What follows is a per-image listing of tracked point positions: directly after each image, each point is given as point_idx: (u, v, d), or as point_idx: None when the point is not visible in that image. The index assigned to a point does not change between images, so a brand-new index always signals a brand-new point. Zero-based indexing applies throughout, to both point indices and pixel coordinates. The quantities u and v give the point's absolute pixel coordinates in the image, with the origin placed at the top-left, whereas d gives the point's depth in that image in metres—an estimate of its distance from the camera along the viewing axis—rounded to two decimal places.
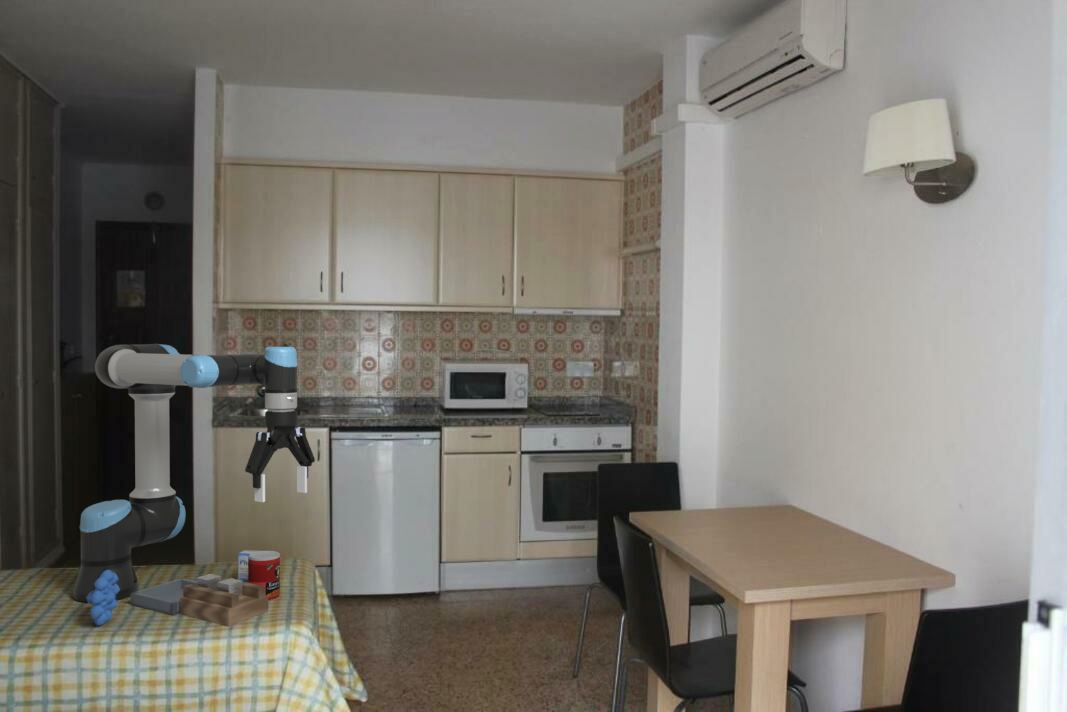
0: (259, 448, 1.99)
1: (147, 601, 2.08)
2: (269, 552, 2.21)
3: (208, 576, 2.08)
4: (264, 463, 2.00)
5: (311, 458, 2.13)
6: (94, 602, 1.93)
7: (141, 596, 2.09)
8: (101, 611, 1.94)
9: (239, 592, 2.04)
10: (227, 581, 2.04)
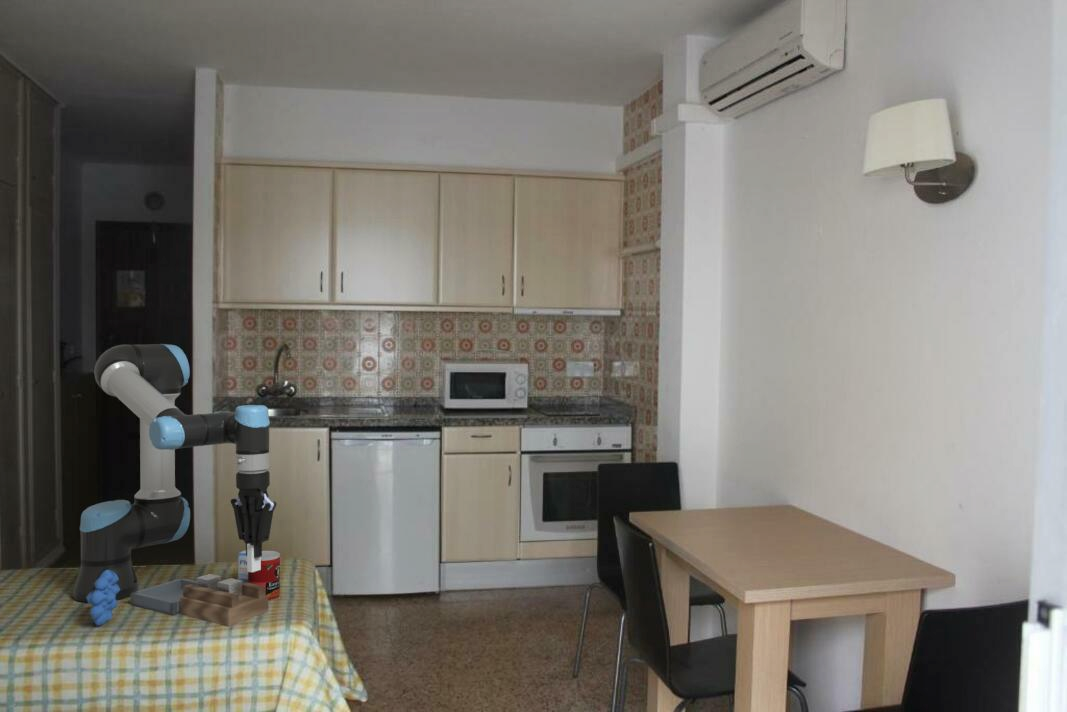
0: None
1: (147, 601, 2.08)
2: (269, 552, 2.21)
3: (208, 576, 2.08)
4: (245, 531, 1.99)
5: (258, 536, 1.97)
6: (94, 602, 1.93)
7: (141, 596, 2.09)
8: (101, 611, 1.94)
9: (239, 592, 2.04)
10: (227, 581, 2.04)
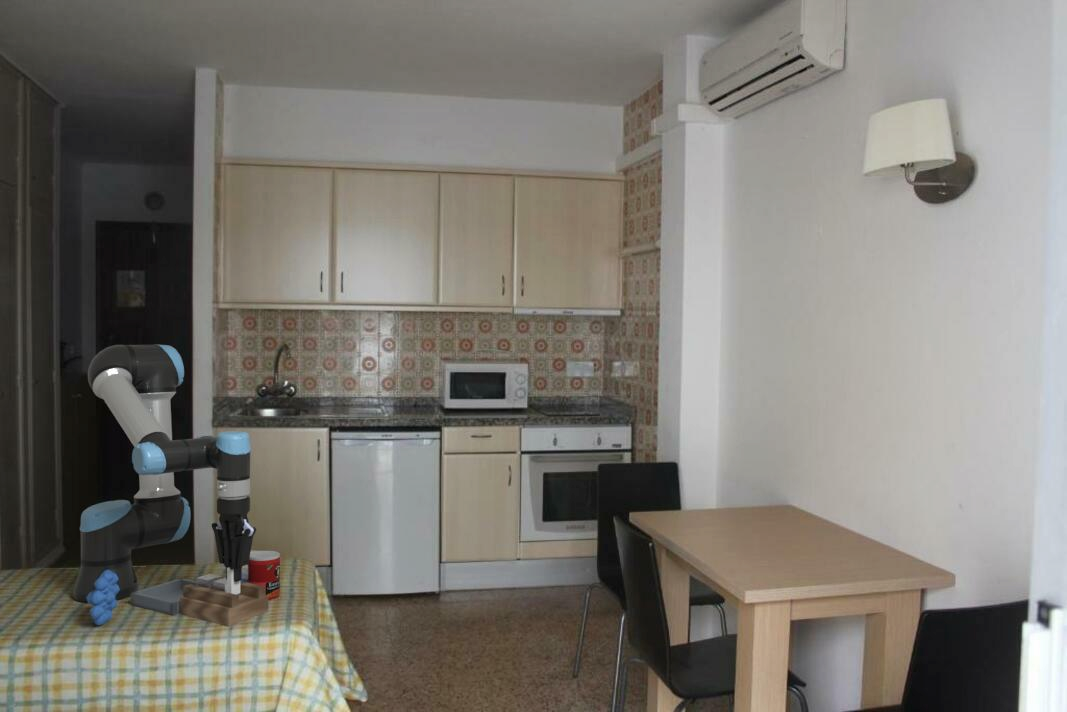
0: None
1: (147, 601, 2.08)
2: (269, 552, 2.21)
3: (208, 576, 2.08)
4: (225, 555, 2.03)
5: (238, 561, 2.01)
6: (94, 602, 1.93)
7: (141, 596, 2.09)
8: (101, 611, 1.94)
9: None
10: (223, 580, 2.05)
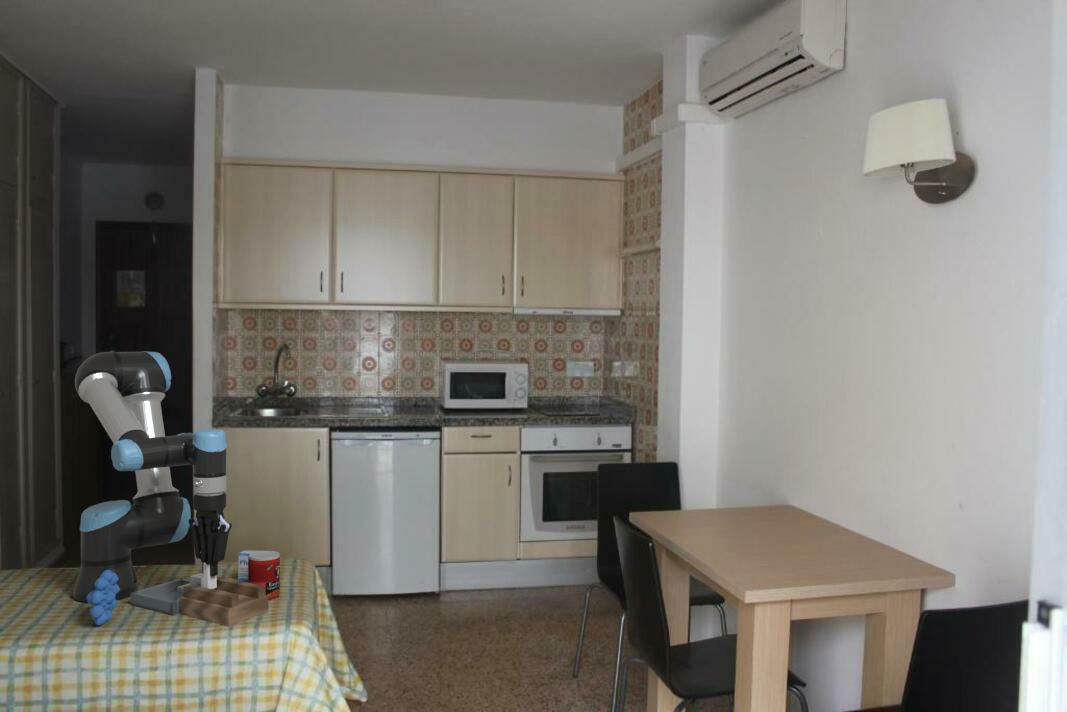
0: None
1: (147, 601, 2.08)
2: (269, 552, 2.21)
3: None
4: (201, 550, 2.07)
5: (214, 556, 2.05)
6: (94, 602, 1.93)
7: (141, 596, 2.09)
8: (101, 611, 1.94)
9: None
10: (200, 575, 2.09)
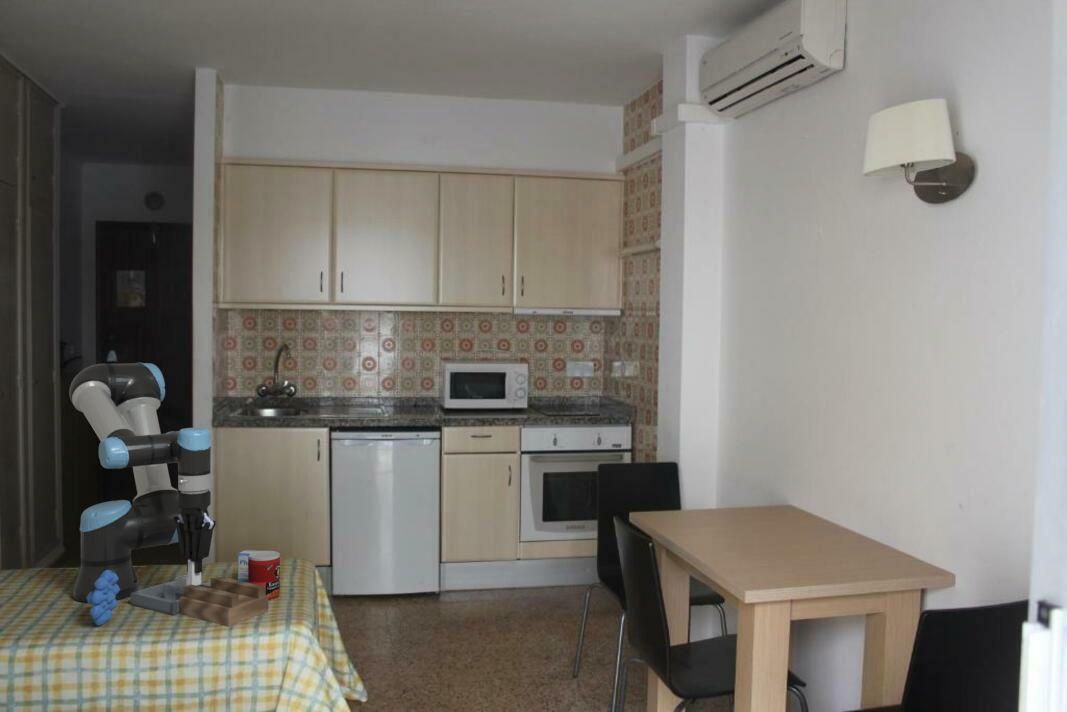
0: None
1: (147, 601, 2.08)
2: (269, 552, 2.21)
3: None
4: (186, 547, 2.10)
5: (198, 553, 2.08)
6: (94, 602, 1.93)
7: (141, 596, 2.09)
8: (101, 611, 1.94)
9: None
10: (185, 576, 2.12)
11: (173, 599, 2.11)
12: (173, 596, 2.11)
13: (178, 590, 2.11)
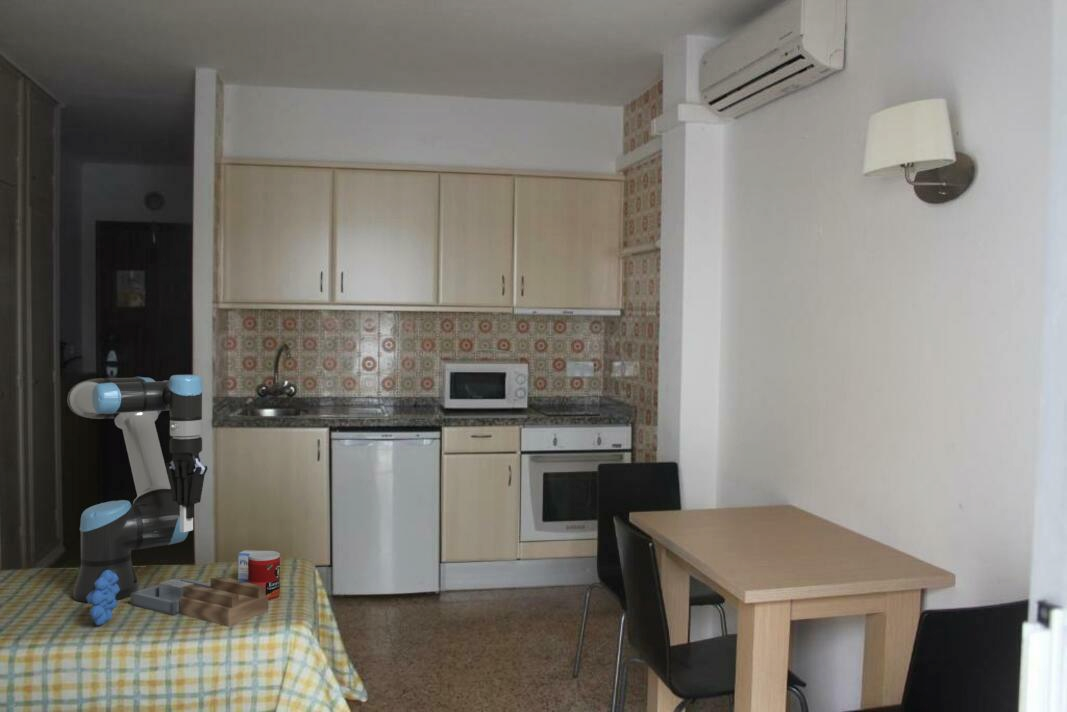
0: None
1: (147, 601, 2.08)
2: (269, 552, 2.21)
3: None
4: (178, 493, 2.11)
5: (190, 498, 2.09)
6: (94, 602, 1.93)
7: (141, 596, 2.09)
8: (101, 611, 1.94)
9: None
10: (179, 584, 2.13)
11: (167, 598, 2.12)
12: (168, 595, 2.12)
13: (172, 598, 2.12)
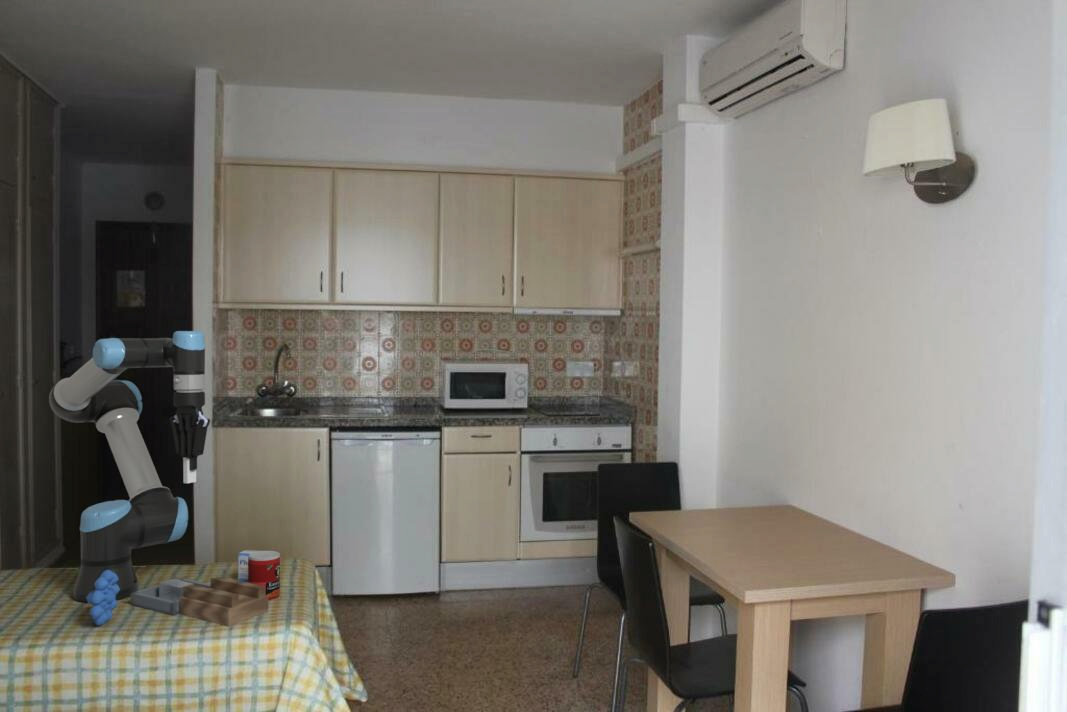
0: None
1: (147, 601, 2.08)
2: (269, 552, 2.21)
3: None
4: (181, 445, 2.17)
5: (193, 450, 2.15)
6: (94, 602, 1.93)
7: (141, 596, 2.09)
8: (101, 611, 1.94)
9: None
10: (179, 584, 2.13)
11: (167, 598, 2.12)
12: (168, 595, 2.12)
13: (172, 598, 2.12)
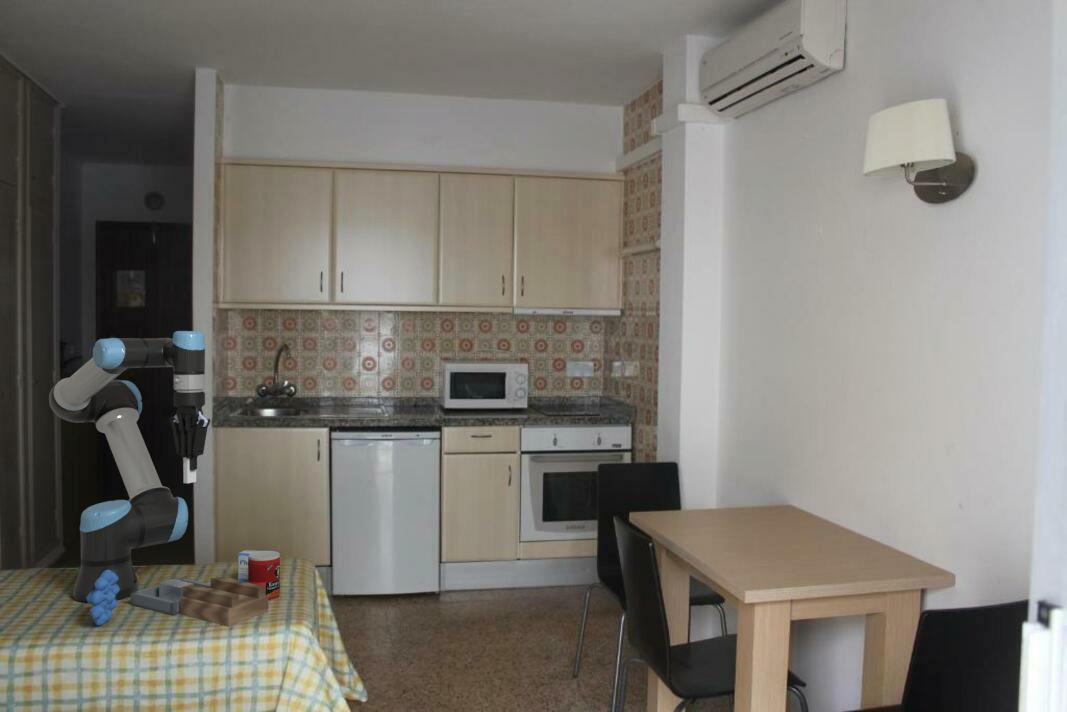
0: None
1: (147, 601, 2.08)
2: (269, 552, 2.21)
3: None
4: (181, 445, 2.17)
5: (193, 450, 2.15)
6: (94, 602, 1.93)
7: (141, 596, 2.09)
8: (101, 611, 1.94)
9: None
10: (179, 584, 2.13)
11: (167, 598, 2.12)
12: (168, 595, 2.12)
13: (172, 598, 2.12)
